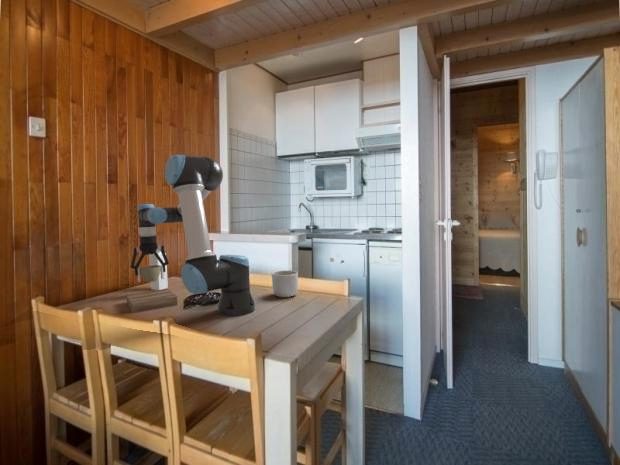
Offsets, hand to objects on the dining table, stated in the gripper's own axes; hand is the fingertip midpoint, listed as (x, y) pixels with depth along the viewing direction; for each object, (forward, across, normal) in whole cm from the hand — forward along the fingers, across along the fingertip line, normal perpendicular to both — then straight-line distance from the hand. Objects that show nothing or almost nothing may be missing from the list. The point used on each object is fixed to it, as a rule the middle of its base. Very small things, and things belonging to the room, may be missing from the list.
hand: (151, 280), depth 174 cm
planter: (+9, -52, +42) cm, 68 cm away
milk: (+7, -6, -12) cm, 16 cm away
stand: (+8, +3, +18) cm, 19 cm away
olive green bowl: (+1, 0, 0) cm, 1 cm away
